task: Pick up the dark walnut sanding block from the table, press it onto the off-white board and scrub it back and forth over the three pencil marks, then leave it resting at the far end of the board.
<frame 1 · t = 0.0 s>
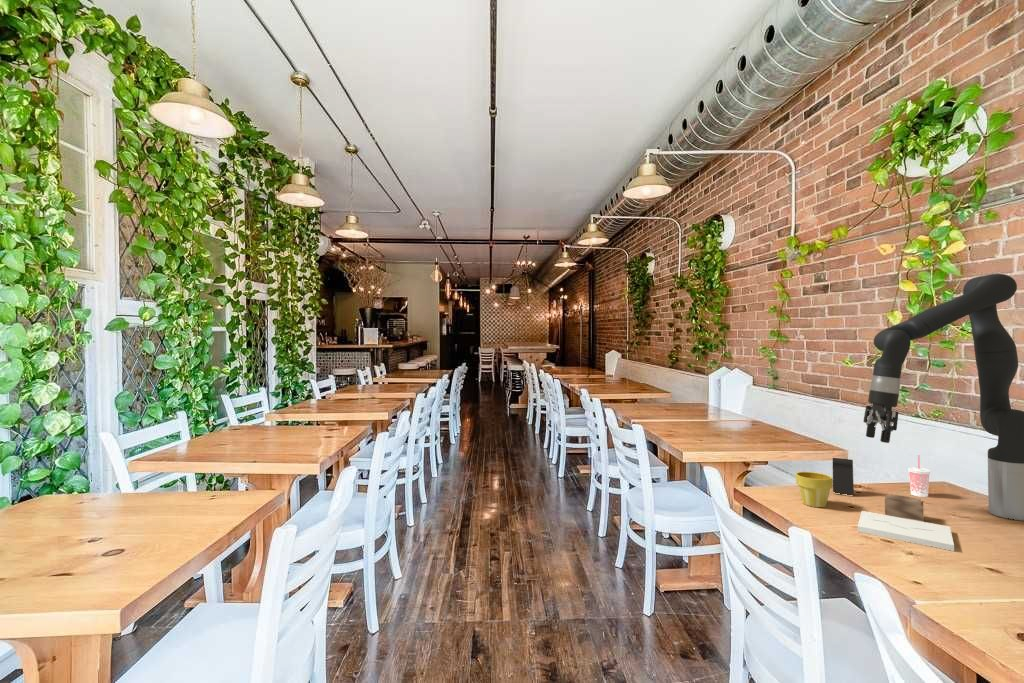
hand: (877, 439, 151), 22 cm above the table, tool pointing down, fingers open, 8 cm apart
sanding block: (904, 517, 143), on the table
beverage cup: (919, 495, 164), on the table
plant pot: (814, 505, 155), on the table
phone stand: (843, 492, 168), on the table
board: (903, 532, 132), on the table
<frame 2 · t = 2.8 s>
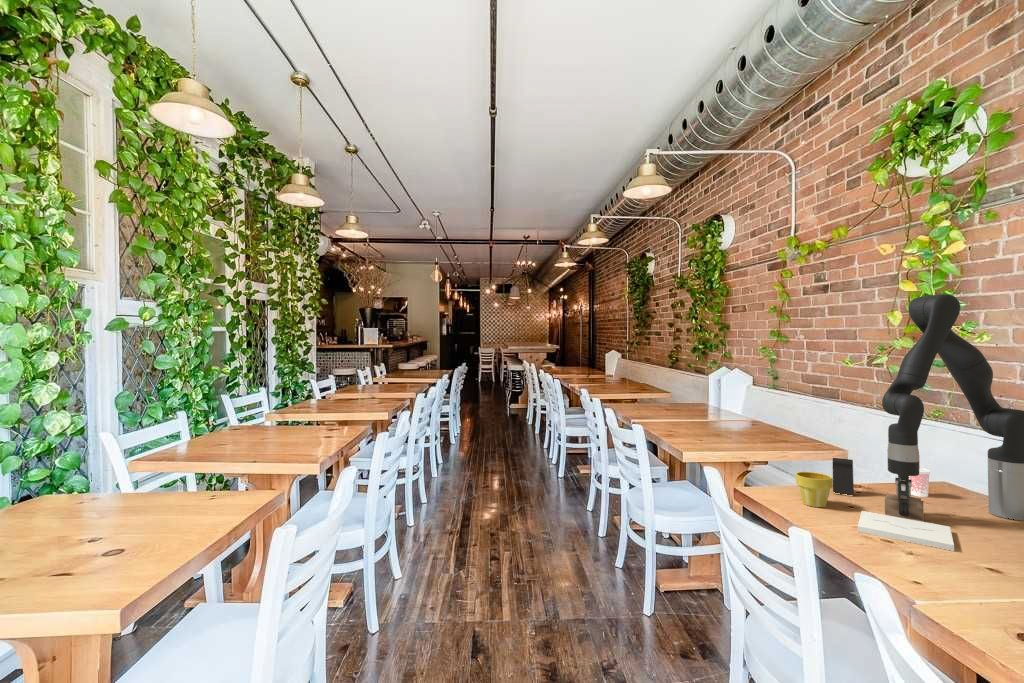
hand: (903, 512, 143), 1 cm above the table, tool pointing down, fingers closed on sanding block, 5 cm apart
sanding block: (904, 517, 143), on the table, touching gripper
everything else where it was.
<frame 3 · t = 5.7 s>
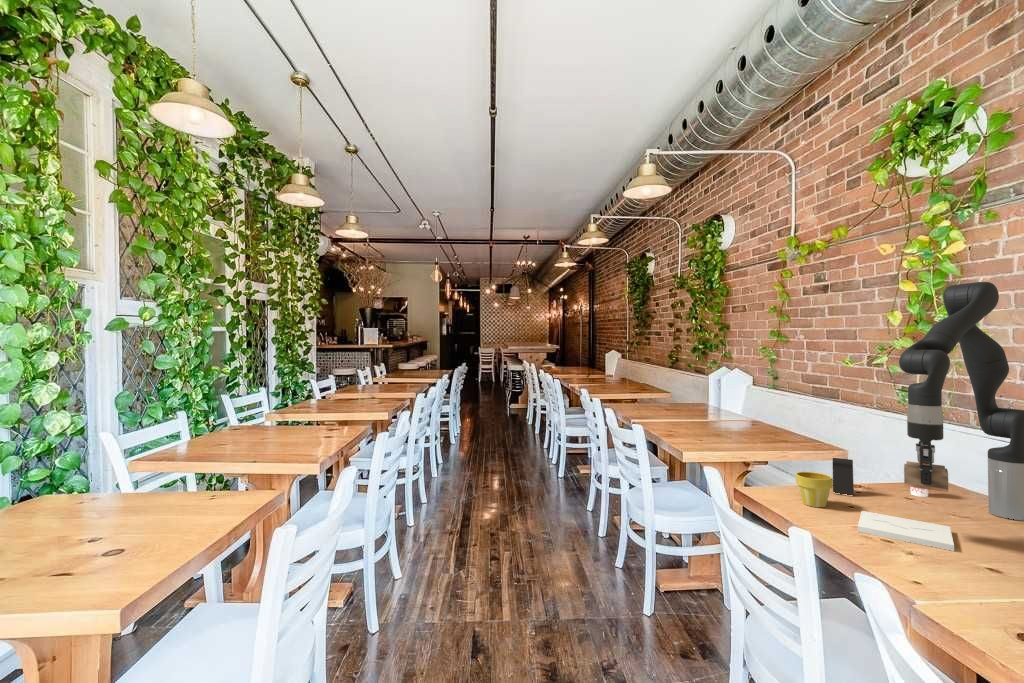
hand: (925, 481, 129), 15 cm above the table, tool pointing down, fingers closed on sanding block, 5 cm apart
sanding block: (925, 486, 129), point 14 cm above the table, touching gripper
everything else where it was.
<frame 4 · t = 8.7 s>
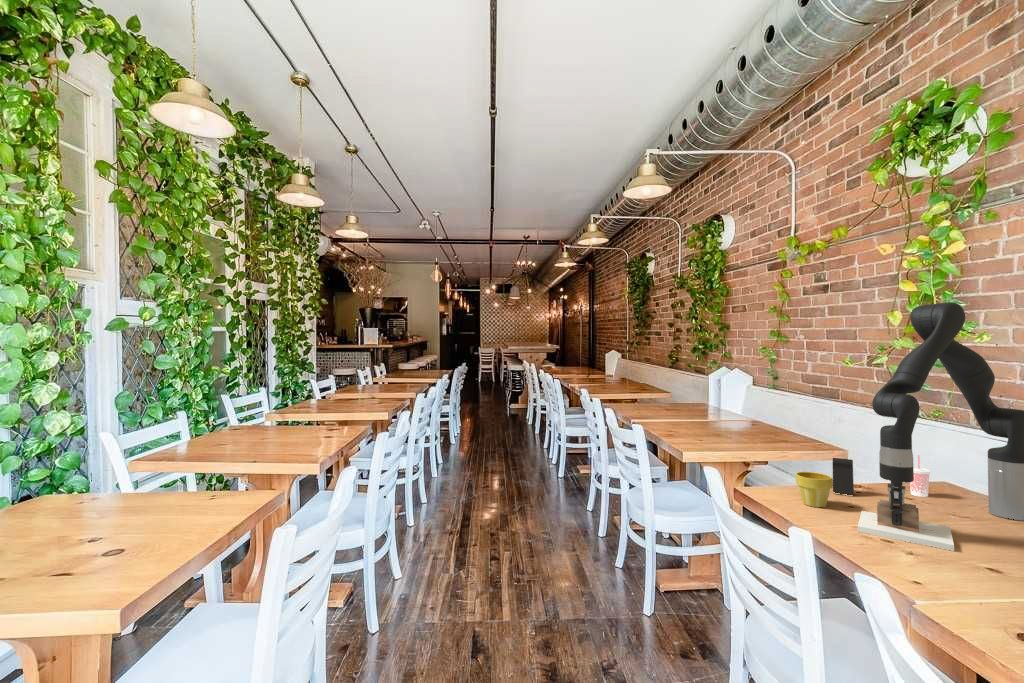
hand: (896, 521, 133), 3 cm above the table, tool pointing down, fingers closed on sanding block, 5 cm apart
sanding block: (897, 525, 132), point 2 cm above the table, touching gripper
everything else where it was.
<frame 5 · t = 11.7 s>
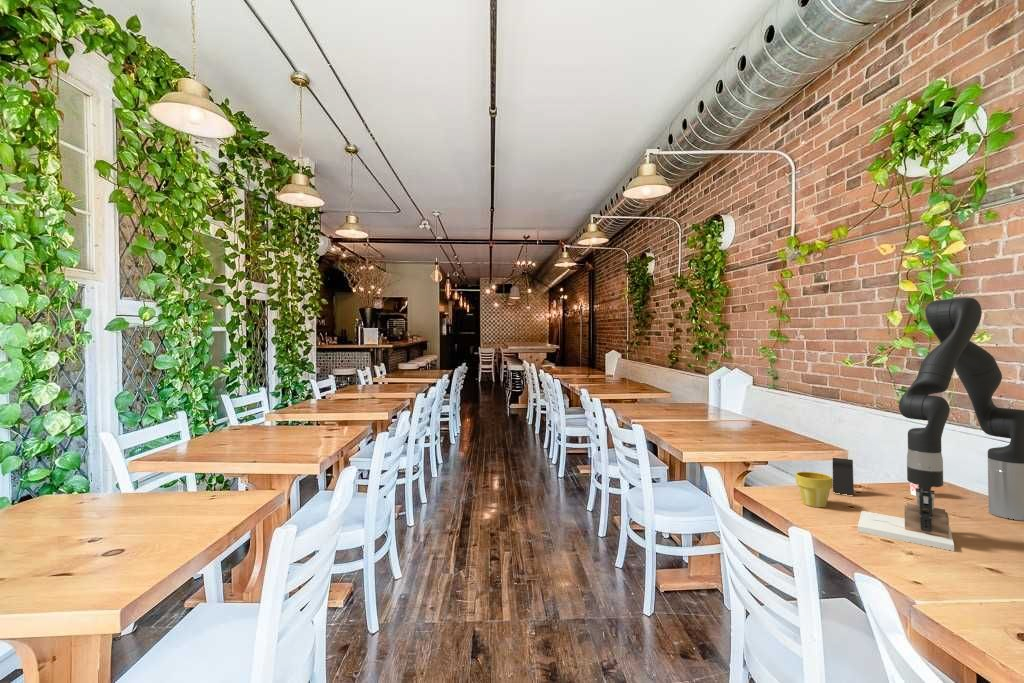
hand: (925, 527, 129), 3 cm above the table, tool pointing down, fingers closed on sanding block, 5 cm apart
sanding block: (926, 530, 129), point 2 cm above the table, touching gripper
everything else where it was.
when the fingers open (3 cm above the table, at t = 14.6 s): sanding block stays where it is, resting on board.
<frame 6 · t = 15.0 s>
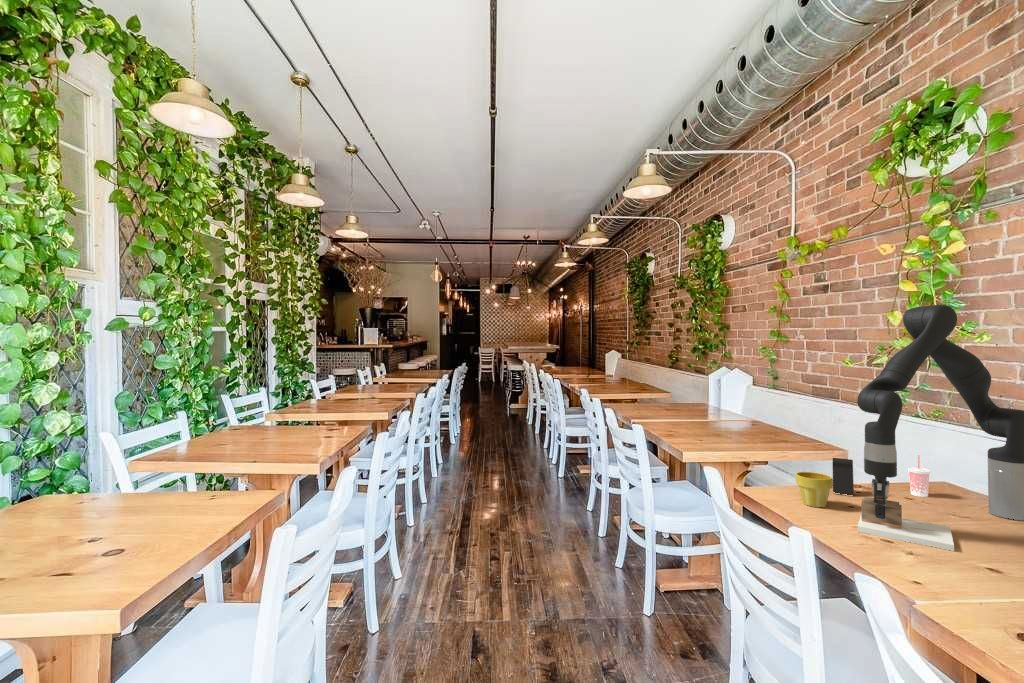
hand: (881, 513, 135), 4 cm above the table, tool pointing down, fingers open, 8 cm apart
sanding block: (881, 522, 135), point 2 cm above the table, touching board
everything else where it was.
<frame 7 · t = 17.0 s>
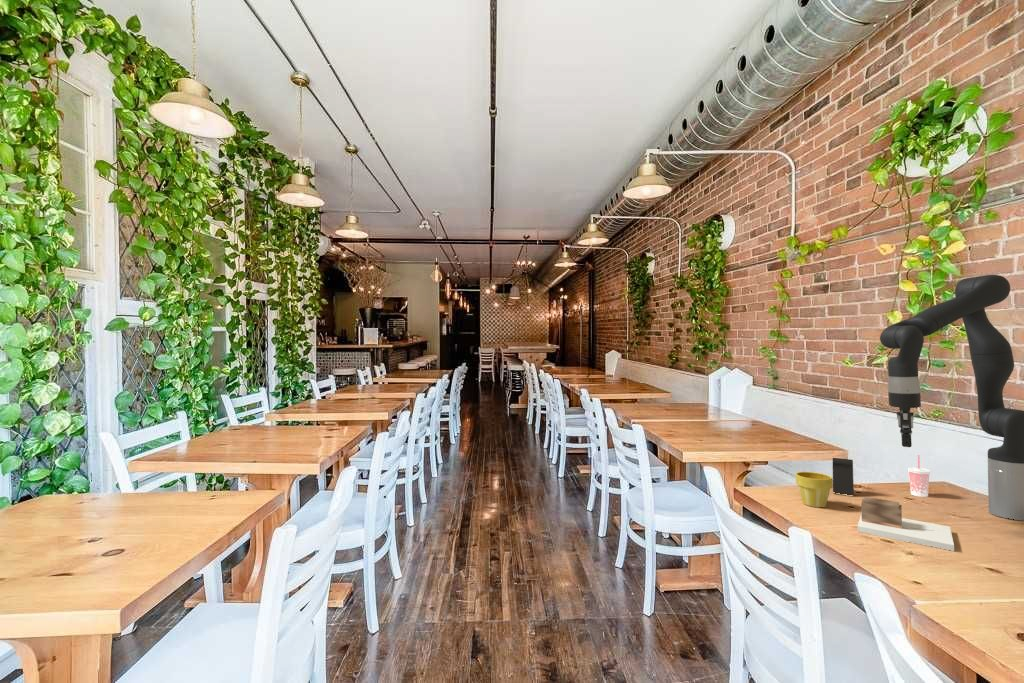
hand: (906, 444, 141), 23 cm above the table, tool pointing down, fingers open, 8 cm apart
nothing on the table moved.
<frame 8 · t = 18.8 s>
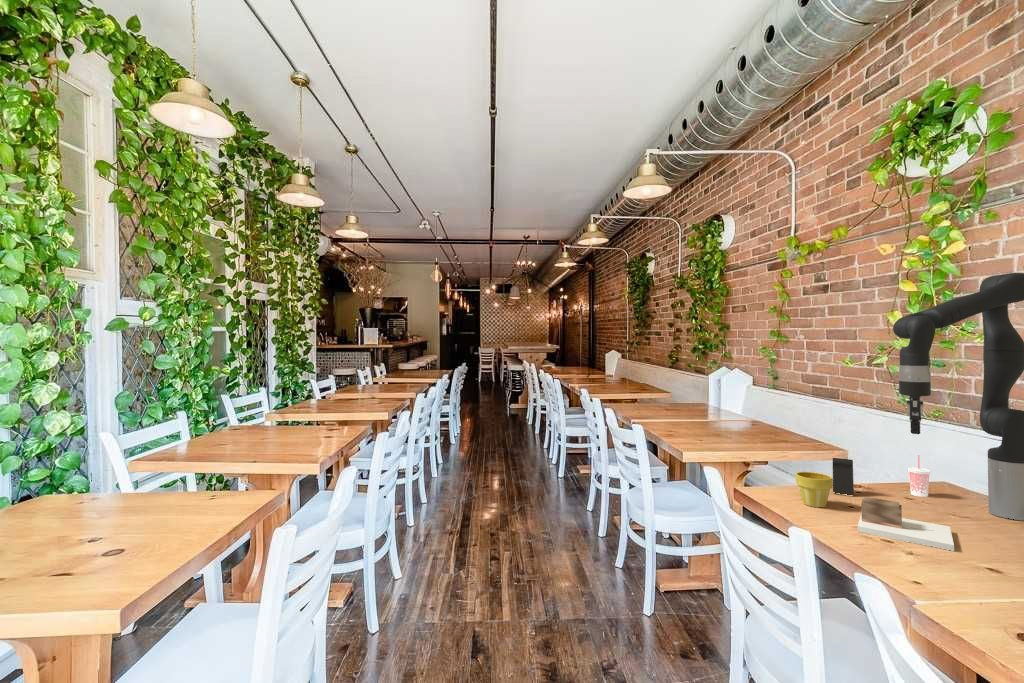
hand: (915, 431, 145), 26 cm above the table, tool pointing down, fingers open, 8 cm apart
nothing on the table moved.
at the end: sanding block inside the target area (0.4 cm from its centre), point 1.6 cm above the table; sanding block tilted 0°; the gripper is holding nothing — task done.
